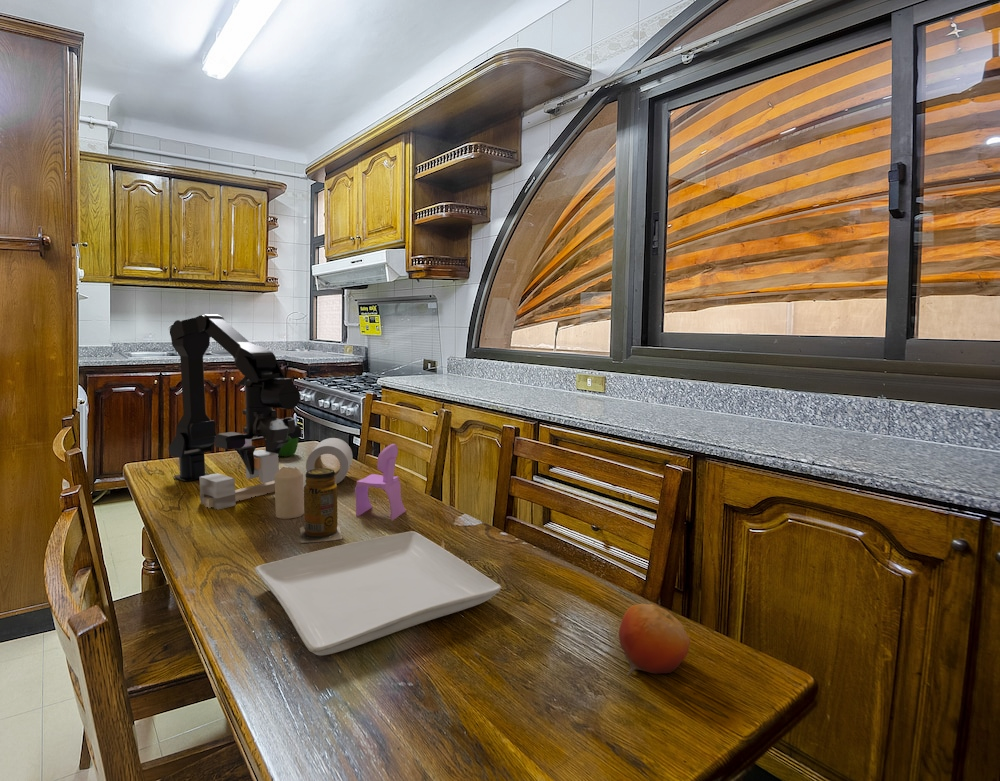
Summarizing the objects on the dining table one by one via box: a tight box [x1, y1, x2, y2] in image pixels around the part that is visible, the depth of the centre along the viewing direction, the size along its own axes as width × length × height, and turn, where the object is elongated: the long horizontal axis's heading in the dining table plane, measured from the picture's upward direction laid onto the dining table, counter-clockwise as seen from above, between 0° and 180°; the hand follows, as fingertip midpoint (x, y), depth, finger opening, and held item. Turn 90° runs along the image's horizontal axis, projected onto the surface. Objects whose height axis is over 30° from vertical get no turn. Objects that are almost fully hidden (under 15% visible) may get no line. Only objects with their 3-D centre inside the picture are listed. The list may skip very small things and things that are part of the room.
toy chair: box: [354, 443, 406, 521], centre depth 120 cm, size 8×9×15 cm
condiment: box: [299, 467, 343, 544], centre depth 108 cm, size 7×8×12 cm
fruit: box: [618, 603, 691, 676], centre depth 67 cm, size 8×8×8 cm
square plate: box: [254, 530, 502, 656], centre depth 84 cm, size 27×27×4 cm
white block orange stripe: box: [245, 449, 280, 484], centre depth 132 cm, size 7×4×6 cm, turn 54°
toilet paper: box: [305, 437, 353, 485], centre depth 145 cm, size 10×10×10 cm
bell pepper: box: [278, 437, 299, 457], centre depth 171 cm, size 8×8×10 cm
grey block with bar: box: [198, 472, 275, 511], centre depth 130 cm, size 7×18×6 cm, turn 145°
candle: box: [274, 466, 304, 520], centre depth 118 cm, size 6×6×10 cm
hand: (261, 472), depth 133 cm, fingers closed on white block orange stripe, 4 cm apart
